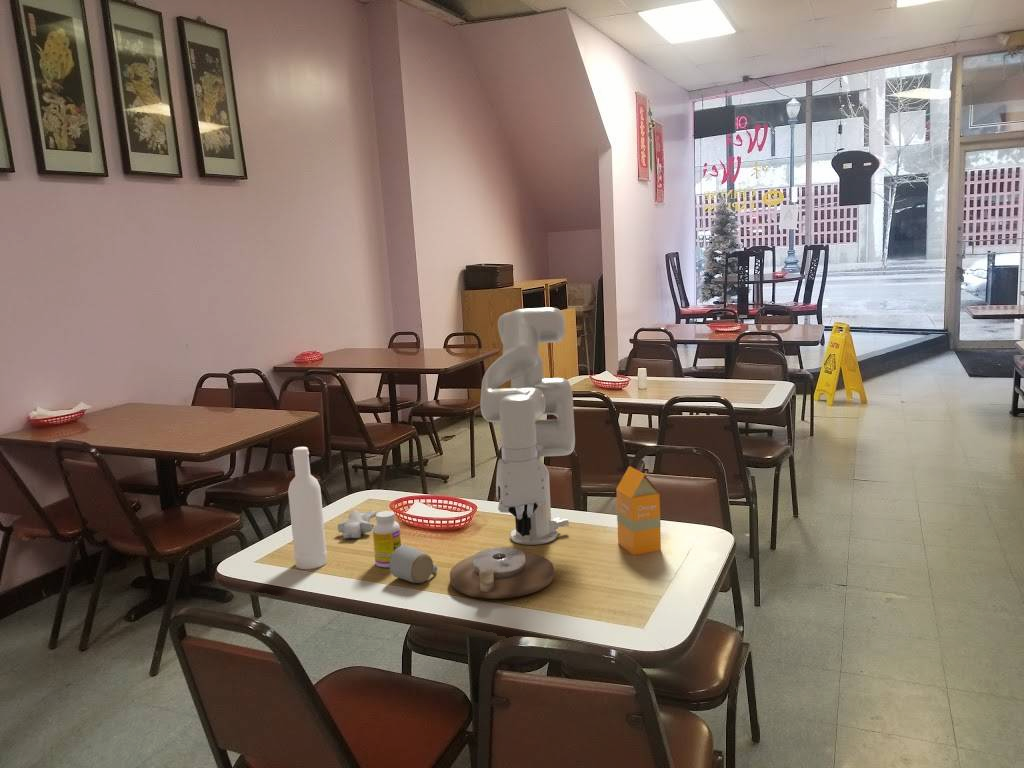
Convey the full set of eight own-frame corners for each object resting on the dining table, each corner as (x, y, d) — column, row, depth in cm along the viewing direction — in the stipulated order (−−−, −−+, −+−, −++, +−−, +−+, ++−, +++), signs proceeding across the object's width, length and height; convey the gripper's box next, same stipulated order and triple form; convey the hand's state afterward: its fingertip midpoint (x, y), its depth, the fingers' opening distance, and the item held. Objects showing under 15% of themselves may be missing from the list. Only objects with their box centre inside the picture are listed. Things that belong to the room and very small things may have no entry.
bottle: (333, 562, 196) (323, 446, 191) (306, 572, 190) (294, 453, 185) (316, 555, 201) (305, 443, 196) (289, 565, 195) (277, 449, 191)
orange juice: (644, 538, 201) (642, 463, 198) (661, 550, 192) (659, 472, 189) (617, 543, 198) (614, 467, 195) (633, 555, 190) (630, 476, 187)
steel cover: (532, 561, 183) (531, 548, 182) (516, 581, 172) (515, 567, 171) (484, 557, 187) (484, 544, 186) (466, 577, 176) (465, 563, 175)
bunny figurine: (331, 527, 210) (348, 504, 225) (334, 544, 212) (350, 520, 226) (365, 527, 209) (380, 503, 224) (367, 544, 211) (382, 519, 225)
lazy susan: (564, 559, 187) (563, 538, 186) (538, 602, 164) (537, 577, 163) (471, 553, 194) (469, 532, 193) (434, 594, 171) (432, 570, 170)
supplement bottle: (397, 568, 189) (393, 518, 187) (371, 568, 191) (367, 518, 189) (406, 558, 196) (402, 509, 194) (381, 557, 197) (377, 509, 195)
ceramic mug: (413, 589, 177) (412, 557, 176) (389, 581, 182) (387, 550, 181) (446, 574, 185) (444, 543, 184) (421, 567, 190) (420, 537, 189)
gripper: (544, 443, 171) (548, 522, 174) (480, 453, 166) (485, 534, 170) (558, 451, 164) (562, 533, 168) (491, 462, 159) (497, 546, 163)
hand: (523, 533), depth 169 cm, fingers closed
